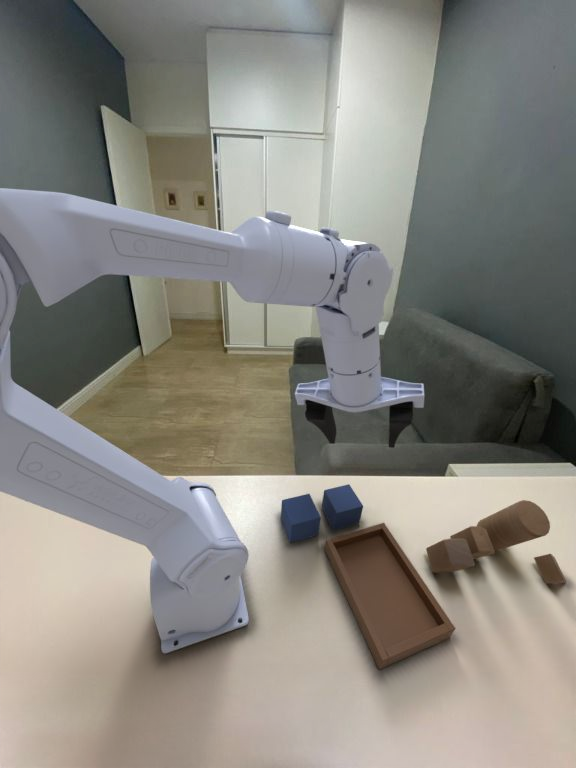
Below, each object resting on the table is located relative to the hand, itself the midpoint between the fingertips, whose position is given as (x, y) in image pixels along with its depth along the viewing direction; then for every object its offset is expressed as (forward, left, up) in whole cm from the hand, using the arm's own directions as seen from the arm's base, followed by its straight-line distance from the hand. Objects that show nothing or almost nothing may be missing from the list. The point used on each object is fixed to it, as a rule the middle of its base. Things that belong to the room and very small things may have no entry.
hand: (361, 439), depth 41 cm
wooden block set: (+16, -12, -16) cm, 26 cm away
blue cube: (-8, +1, -16) cm, 18 cm away
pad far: (-1, +1, -16) cm, 16 cm away
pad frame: (-1, -11, -16) cm, 19 cm away
